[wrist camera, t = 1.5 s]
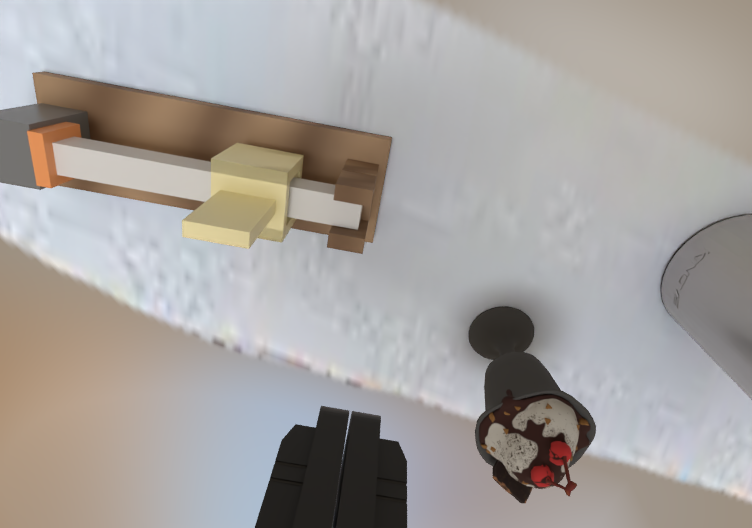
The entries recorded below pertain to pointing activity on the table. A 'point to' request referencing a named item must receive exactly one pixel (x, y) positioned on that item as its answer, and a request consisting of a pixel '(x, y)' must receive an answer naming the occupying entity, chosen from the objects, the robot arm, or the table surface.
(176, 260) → the table surface
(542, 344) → the table surface
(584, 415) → the sundae
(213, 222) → the marker sleeve
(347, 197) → the wooden bracket
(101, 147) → the sliding door bolt
